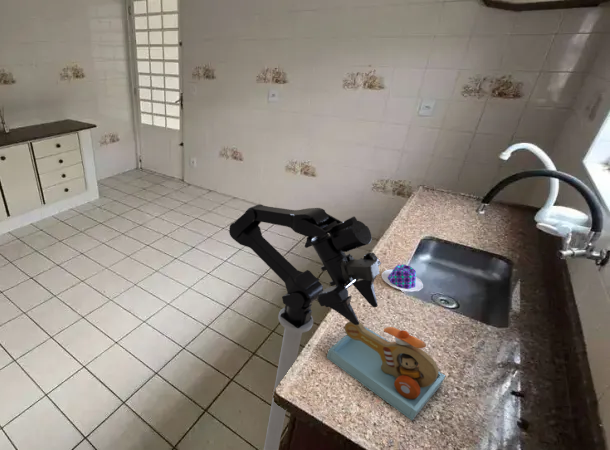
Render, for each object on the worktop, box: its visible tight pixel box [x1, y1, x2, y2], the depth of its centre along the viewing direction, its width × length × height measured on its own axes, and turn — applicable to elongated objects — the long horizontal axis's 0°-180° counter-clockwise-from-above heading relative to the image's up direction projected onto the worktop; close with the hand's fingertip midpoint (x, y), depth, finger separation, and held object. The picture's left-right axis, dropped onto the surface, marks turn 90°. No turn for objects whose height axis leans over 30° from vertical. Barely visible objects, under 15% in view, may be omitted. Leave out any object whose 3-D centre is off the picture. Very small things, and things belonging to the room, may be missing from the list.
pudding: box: [381, 263, 424, 293], centre depth 114 cm, size 12×12×5 cm
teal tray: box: [326, 325, 446, 421], centre depth 84 cm, size 21×15×3 cm
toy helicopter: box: [344, 320, 440, 399], centre depth 82 cm, size 8×21×14 cm, turn 37°
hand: (366, 315), depth 83 cm, fingers open, 9 cm apart
